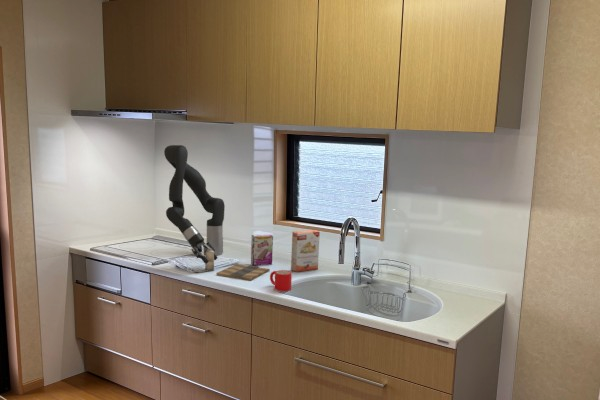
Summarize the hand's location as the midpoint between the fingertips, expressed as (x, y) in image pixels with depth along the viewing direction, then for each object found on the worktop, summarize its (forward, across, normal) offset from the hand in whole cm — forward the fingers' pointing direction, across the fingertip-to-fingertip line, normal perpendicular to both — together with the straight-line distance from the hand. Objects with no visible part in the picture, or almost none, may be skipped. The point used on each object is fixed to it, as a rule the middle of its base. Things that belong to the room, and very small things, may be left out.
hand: (211, 260), depth 277 cm
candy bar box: (+16, +24, -8) cm, 30 cm away
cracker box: (+33, +26, -26) cm, 49 cm away
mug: (+35, -9, -27) cm, 45 cm away
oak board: (+15, +4, -8) cm, 18 cm away
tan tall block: (+3, 0, +5) cm, 5 cm away
